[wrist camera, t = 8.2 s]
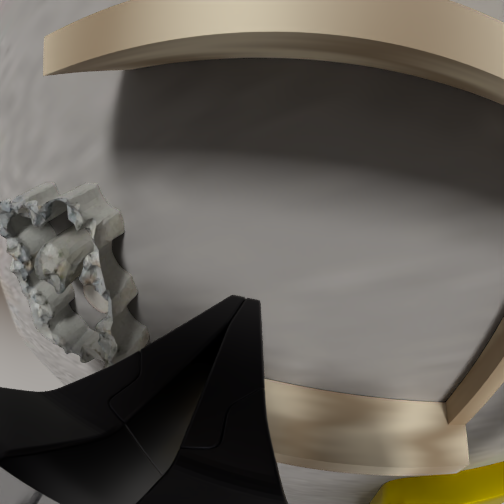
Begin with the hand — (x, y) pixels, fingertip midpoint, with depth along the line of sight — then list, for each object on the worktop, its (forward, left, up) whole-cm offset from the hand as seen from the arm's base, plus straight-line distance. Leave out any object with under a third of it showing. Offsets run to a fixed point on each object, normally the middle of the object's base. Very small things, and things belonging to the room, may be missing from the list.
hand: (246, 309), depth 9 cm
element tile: (-21, +26, -4) cm, 33 cm away
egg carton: (+10, +3, -3) cm, 11 cm away
